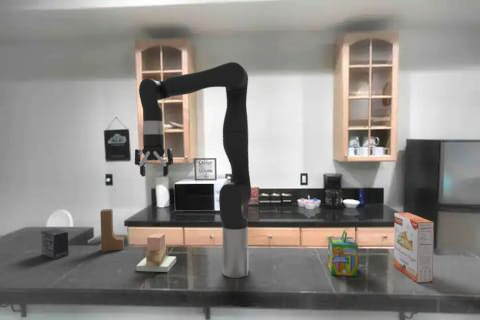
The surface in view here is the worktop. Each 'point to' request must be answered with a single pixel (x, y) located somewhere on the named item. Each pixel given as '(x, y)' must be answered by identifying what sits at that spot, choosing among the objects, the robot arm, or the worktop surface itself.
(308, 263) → the worktop surface
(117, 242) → the wooden block
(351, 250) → the chalk box
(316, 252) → the worktop surface
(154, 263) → the tan rectangular block
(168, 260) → the pad
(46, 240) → the small box
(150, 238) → the cube
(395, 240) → the cracker box
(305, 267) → the worktop surface
